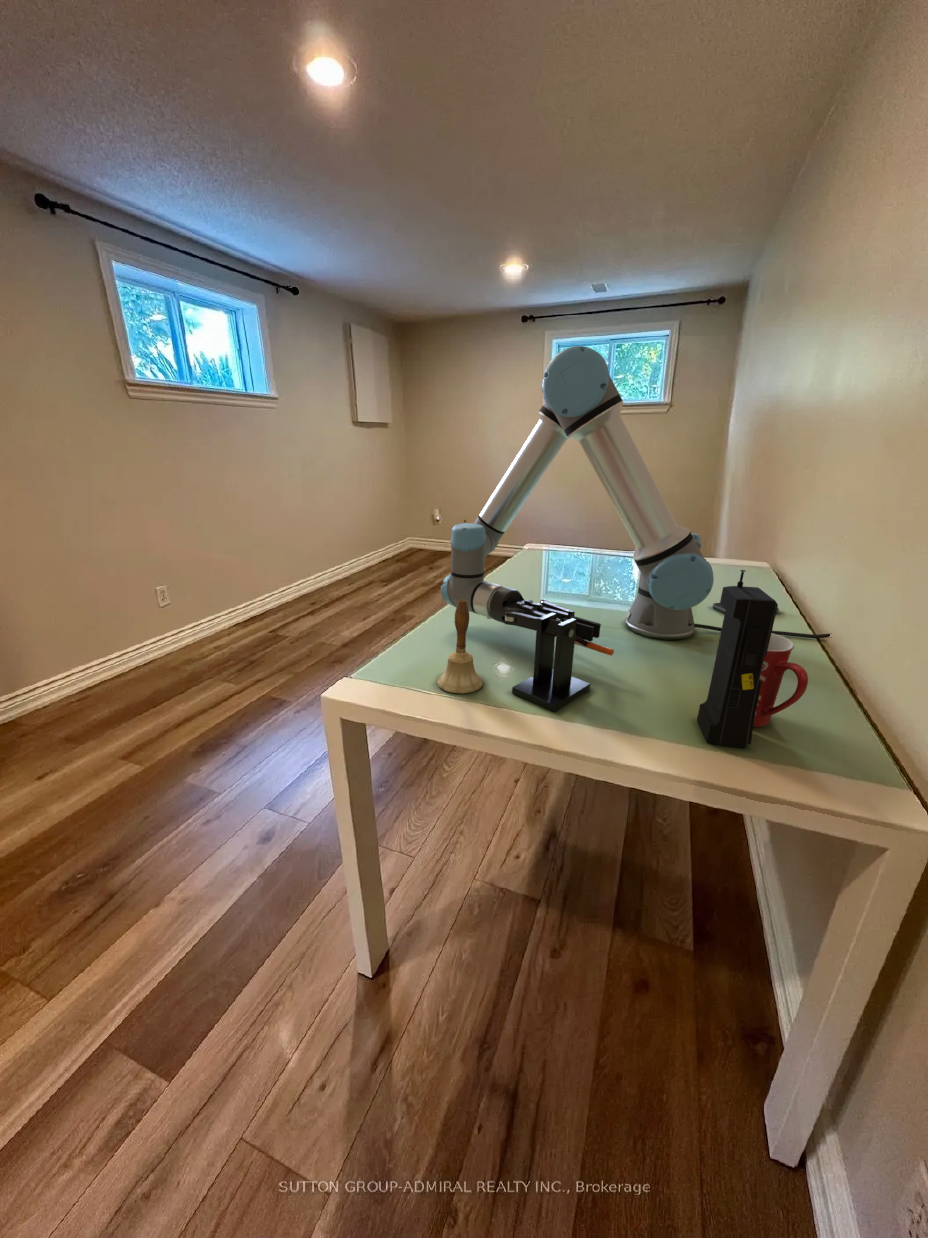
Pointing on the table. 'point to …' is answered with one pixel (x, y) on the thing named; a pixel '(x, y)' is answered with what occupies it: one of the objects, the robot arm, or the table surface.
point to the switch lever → (578, 639)
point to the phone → (720, 608)
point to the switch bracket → (547, 683)
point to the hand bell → (460, 659)
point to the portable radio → (738, 666)
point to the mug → (777, 679)
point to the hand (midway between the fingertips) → (595, 632)
